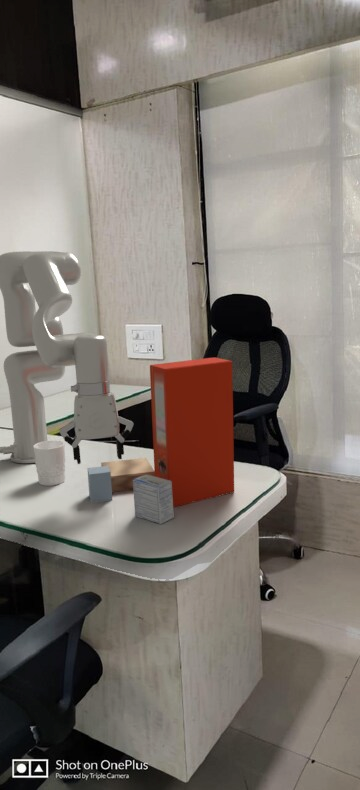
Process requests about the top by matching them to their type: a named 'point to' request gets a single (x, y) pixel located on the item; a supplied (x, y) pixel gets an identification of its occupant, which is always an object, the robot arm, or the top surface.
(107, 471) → the block
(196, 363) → the file binder
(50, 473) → the white cup
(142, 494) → the medicine box
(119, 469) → the pedestal
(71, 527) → the top surface
